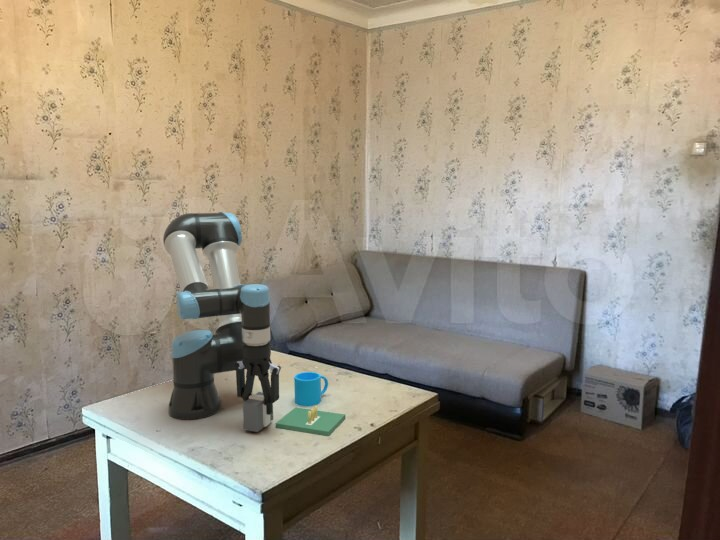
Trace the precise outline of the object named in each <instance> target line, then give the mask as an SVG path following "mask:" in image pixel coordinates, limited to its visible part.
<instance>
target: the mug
mask: <svg viewBox="0 0 720 540" xmlns="http://www.w3.org/2000/svg"><path fill="white" fill-rule="evenodd" d="M293 379H294V380H293V382H294V404H296V405H297V406H300V407H314V406H318V405H320V403H322V396H323V395H324V394H325V393H326V391H327V389H328V387H329V381H328V378H327V377H326V376H324V375H321V374H320V373H318V372H313V371H303V372H299V373H296V374H295V375H294V376H293ZM322 380H323V381H324V386H323V389H322Z"/></svg>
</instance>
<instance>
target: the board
mask: <svg viewBox="0 0 720 540" xmlns="http://www.w3.org/2000/svg"><path fill="white" fill-rule="evenodd" d="M344 420H346V414H344V413H337V412H330V411H326V410H325V411H324V410H318V405H314V406H313V407H312V408H303V407H302V408H301V407H297V406H296V407H294V408H292V410H290V411H289V412H287V414H286V415H284V416H283V417H282V418H280V419H279V420H278V421H277V422H276V423H275V428H278V429H284V430H289V431H295V432H302V433H308V434H315V435H321V436H326V437H330V435H331V434H332V433H334V431H335V430H336V429H337V428H338V427H339V426H340V425H341V424H342V423H343V422H344Z"/></svg>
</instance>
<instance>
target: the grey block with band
mask: <svg viewBox="0 0 720 540" xmlns="http://www.w3.org/2000/svg"><path fill="white" fill-rule="evenodd" d="M263 403H265V400H264V395H263V391H258V392H256V393H252V395H250V396H249V399H248V400H246V401H245V402H244V401H243V402H242V422H243V424H242V426H243V430H245V431H250V432H254V433H258V432H260V431H261V430H262V429H264V427H263ZM273 420H274V411H273V412H272V413H271V414H270V421H271V422H273Z"/></svg>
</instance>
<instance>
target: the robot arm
mask: <svg viewBox="0 0 720 540" xmlns="http://www.w3.org/2000/svg"><path fill="white" fill-rule="evenodd" d="M242 239H243V235H242V227H241V224H240V221H239V219H238V218H237V216H236V215H235V214H233V213H231V212H224V211H223V212H222V211H220V212H219V211H218V212H207V213H206V212H199V213H197V212H195V213H194V212H192V213H191V212H190V213H184V214H180V215H179V216H177V217H176V218H174V219H173V220H171V222H170V223H168V225H167V227H166V228H165V230H164V233H163V238H162V241H163V247H164V249H165V252H167V254H168V255H169V256H170V258H171V261H172V264H173V268H174V272H175V275H176V279H177V282H178V287H179V289H180V291H179V292H178V293H177V294H176V309H177V315H178V317H179V318H180V319H182V320H191V319H193V320H197V319H203V318H212V317H213V318H214V317H218V321H219V324H218V326H217V328H216V329H215V334H213V332H212V331H211V330H208V329H197V330H191V331H188V332H185V333H182V334H179V335H178V336H177V337H175V338H174V339H173V341H171V354H170V356H171V357H170V358H171V361H172V379H173V388H172V392H171V396H170V400H169V403H168V415H169V416H170V417H172V418H174V419H178V420H197V419H202V418H203V419H204V418H207V417H210V416H213V415H214V414H216V413H218V412H219V411H220V410H221V409H222V398H221V396H220V395H219V391H218V389H217V386H216V383H215V374H220V373H227V372H233V371H235V377H236V380H235V381H236V396H237V398H241V399H242V400H243V402H245V401H246V400H248V399H249V396H250V395H252V394H253V388H254V382H255V377H258V380H259V381H260V386H261V390H262V391H261V392H263V395H264V400H265V403H263V428H266V427H268V426H269V425H270V424H271V423H272V421H270V414H271V413H272V412H273V413H274V403H276V402H277V401H278V400H280V371H281V369H282V367H281V366H280V365H277V366H276V365H275V364H273V362H272V360H271V355H272V352H271V351H272V349H271V348H272V347H271V346H272V345H271V342H270V341H271V312H270V311H271V309H270V306H271V304H270V303H271V297H270V290H269V289H270V288H269V287H268V286H267V285H266V284H260V283H253V284H252V283H251V284H243V283H242V284H241V280H240V273H239V269H238V263H237V259H236V253H237V252H238V250H239V246H241V244H242V242H243V240H242ZM196 249H202V254H203V256H204V257H206V258H208V262H209V269H210V273H211V281H212V285H213V288H211V289H210V287H209V284H208V281H207V278H206V275H205V271H204V269H203V267H202V265H201V264H202V263H201V262H200V261H201V260H200V258H199V255H198V253H197V250H196ZM245 370H246V373H245ZM269 370H270V371H269ZM269 376H270V379H269Z"/></svg>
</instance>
